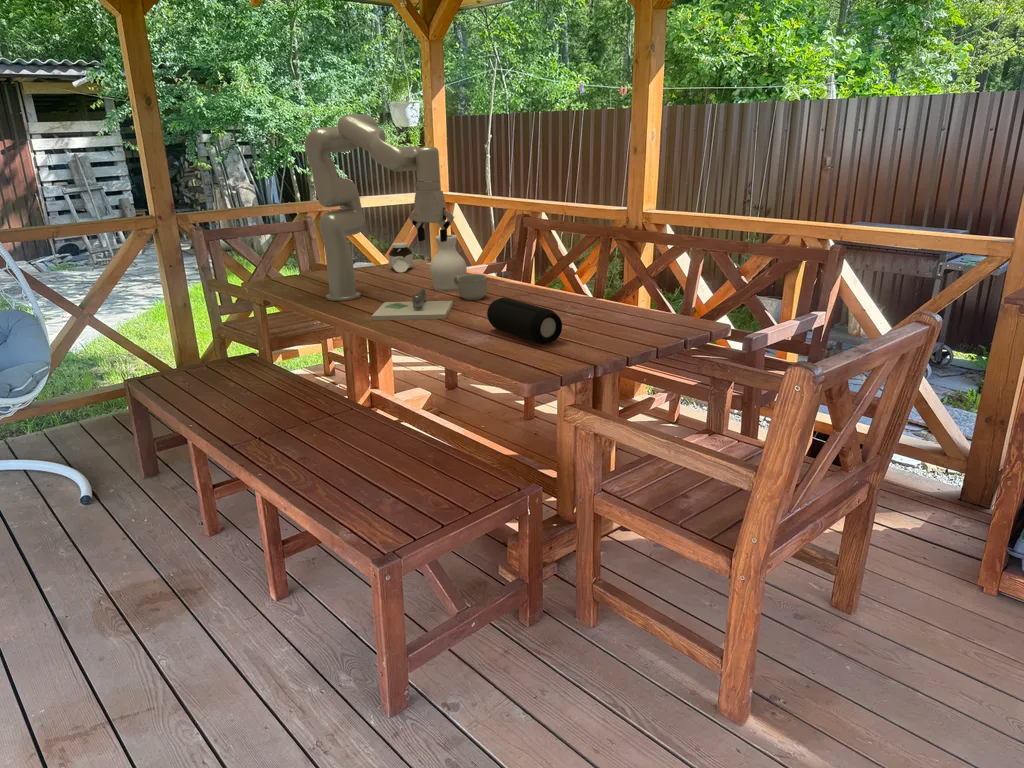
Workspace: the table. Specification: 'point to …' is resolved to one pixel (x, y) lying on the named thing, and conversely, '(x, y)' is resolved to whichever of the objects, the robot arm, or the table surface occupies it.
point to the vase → (446, 265)
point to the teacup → (471, 286)
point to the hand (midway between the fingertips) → (432, 240)
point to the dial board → (413, 310)
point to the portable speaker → (525, 320)
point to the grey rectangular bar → (419, 299)
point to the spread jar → (400, 257)
